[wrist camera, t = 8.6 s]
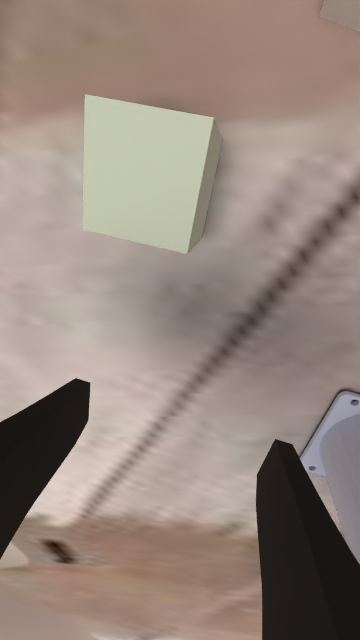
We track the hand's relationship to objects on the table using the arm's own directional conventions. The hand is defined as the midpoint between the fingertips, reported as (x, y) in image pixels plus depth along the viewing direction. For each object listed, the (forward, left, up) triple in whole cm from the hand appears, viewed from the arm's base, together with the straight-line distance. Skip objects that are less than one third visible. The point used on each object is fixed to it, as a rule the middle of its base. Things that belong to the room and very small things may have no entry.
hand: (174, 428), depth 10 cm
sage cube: (+4, -8, -10) cm, 13 cm away
